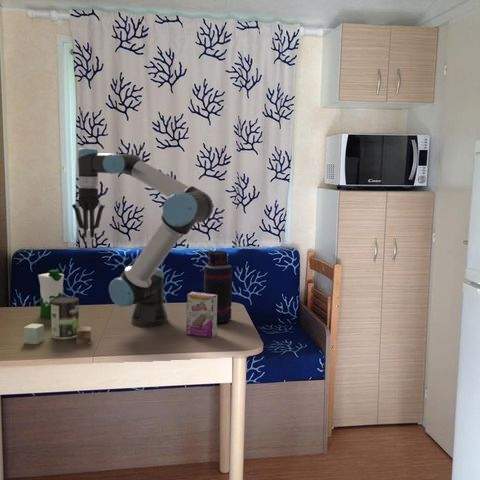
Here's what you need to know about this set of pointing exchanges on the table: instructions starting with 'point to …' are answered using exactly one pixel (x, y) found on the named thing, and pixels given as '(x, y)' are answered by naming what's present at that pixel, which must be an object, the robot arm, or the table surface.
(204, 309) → the candy bar box
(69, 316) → the coffee can
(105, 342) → the table surface
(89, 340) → the brown wooden cube
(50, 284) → the milk carton
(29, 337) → the sage block
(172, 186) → the robot arm
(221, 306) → the dark capped bottle
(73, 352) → the table surface
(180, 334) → the table surface
